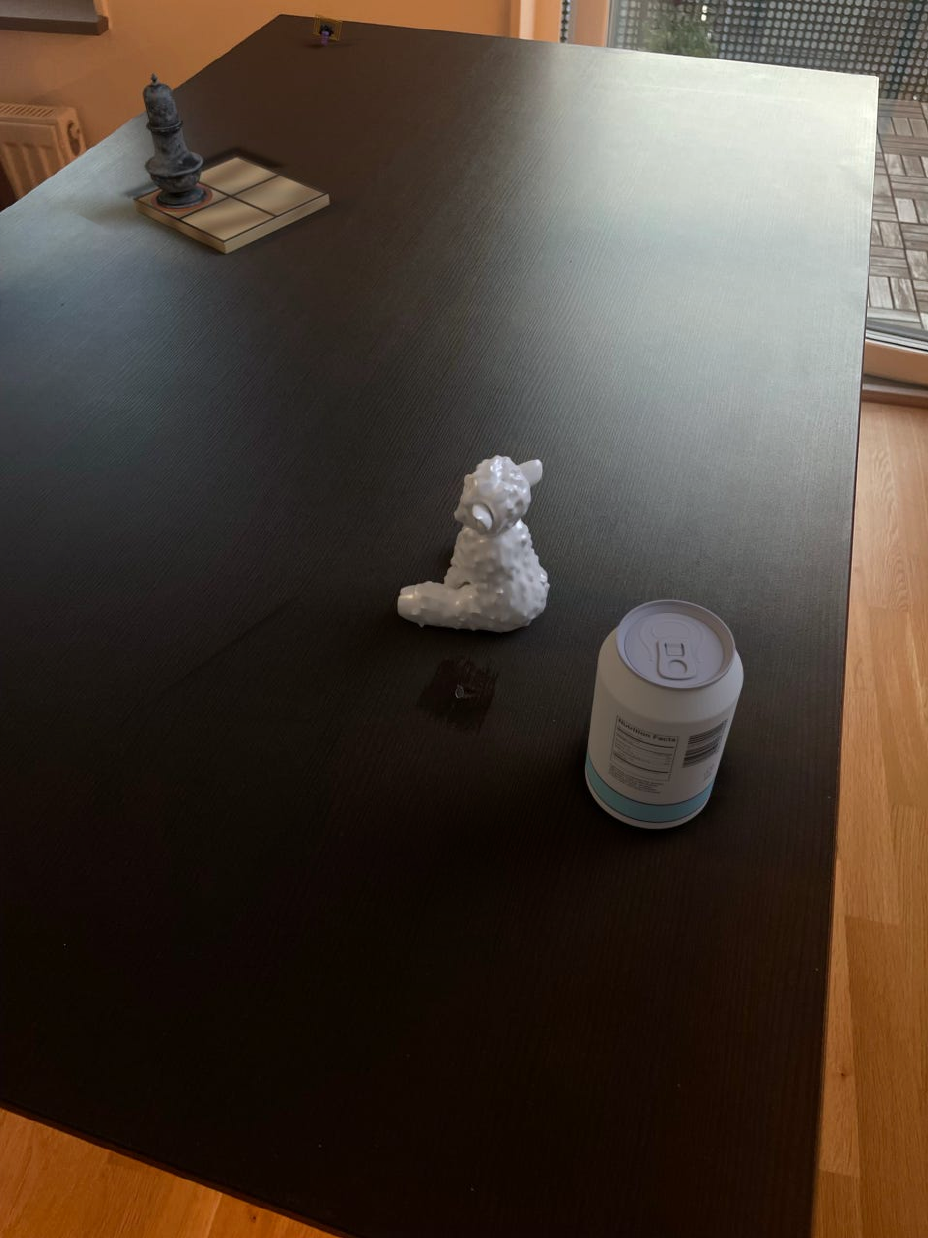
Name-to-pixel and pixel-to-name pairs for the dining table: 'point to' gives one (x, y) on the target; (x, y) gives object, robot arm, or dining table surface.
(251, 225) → the board
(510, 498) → the white creature statuette
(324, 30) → the framed picture
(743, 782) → the dining table surface
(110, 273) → the dining table surface
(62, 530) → the dining table surface
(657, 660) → the beverage can
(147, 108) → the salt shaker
